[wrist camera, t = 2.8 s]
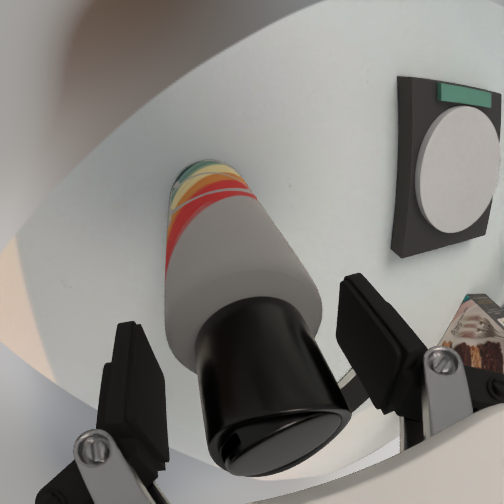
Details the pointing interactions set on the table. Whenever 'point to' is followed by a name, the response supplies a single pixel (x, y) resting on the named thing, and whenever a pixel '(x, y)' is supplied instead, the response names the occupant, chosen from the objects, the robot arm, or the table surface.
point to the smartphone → (353, 390)
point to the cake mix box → (478, 333)
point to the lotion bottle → (246, 326)
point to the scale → (444, 163)
